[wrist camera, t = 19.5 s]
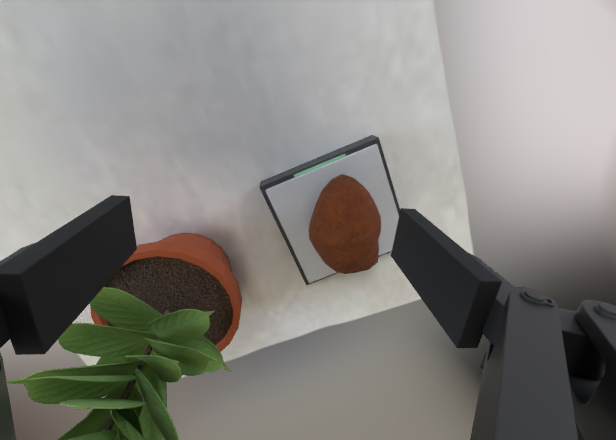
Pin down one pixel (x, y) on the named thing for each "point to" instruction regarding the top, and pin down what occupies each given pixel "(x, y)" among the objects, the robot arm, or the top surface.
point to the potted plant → (145, 339)
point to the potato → (346, 226)
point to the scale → (307, 187)
